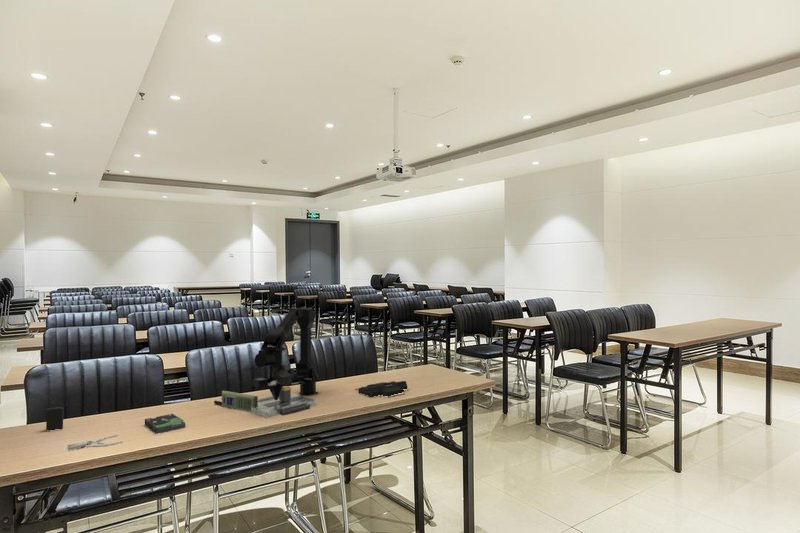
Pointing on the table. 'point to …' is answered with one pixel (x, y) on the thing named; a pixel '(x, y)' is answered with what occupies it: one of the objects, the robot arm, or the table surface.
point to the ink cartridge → (54, 418)
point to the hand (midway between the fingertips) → (276, 400)
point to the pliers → (84, 444)
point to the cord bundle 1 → (294, 407)
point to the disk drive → (164, 423)
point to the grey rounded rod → (265, 398)
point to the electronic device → (383, 388)
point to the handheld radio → (238, 401)
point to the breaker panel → (278, 405)
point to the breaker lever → (285, 394)
